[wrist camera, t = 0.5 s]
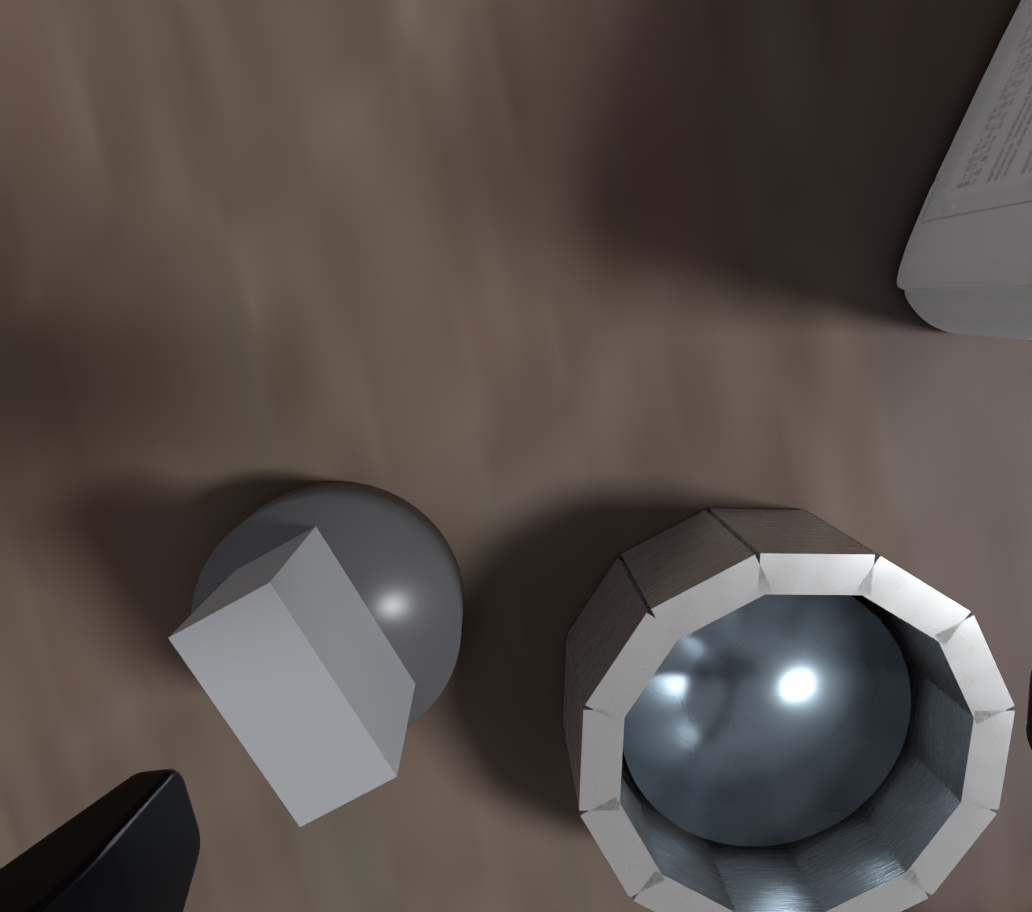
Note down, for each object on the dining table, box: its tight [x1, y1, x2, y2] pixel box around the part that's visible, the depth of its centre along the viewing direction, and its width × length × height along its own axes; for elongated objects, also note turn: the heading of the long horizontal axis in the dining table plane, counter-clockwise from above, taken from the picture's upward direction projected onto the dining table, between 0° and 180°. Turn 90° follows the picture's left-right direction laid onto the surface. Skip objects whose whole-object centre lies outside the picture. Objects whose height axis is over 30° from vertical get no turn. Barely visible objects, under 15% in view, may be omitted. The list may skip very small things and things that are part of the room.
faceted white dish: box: [563, 508, 1015, 912], centre depth 20 cm, size 11×11×4 cm
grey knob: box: [169, 481, 464, 827], centre depth 18 cm, size 7×7×6 cm
